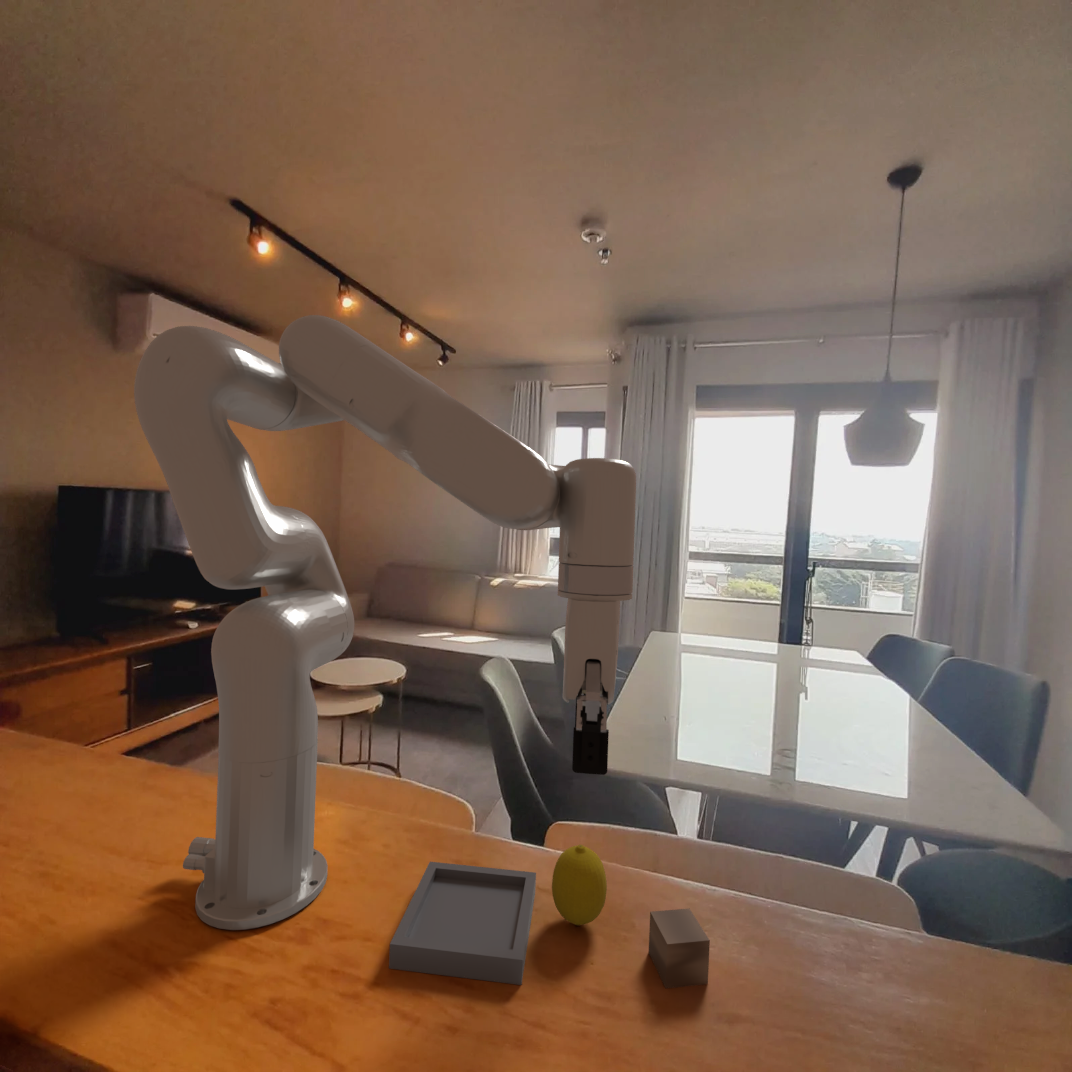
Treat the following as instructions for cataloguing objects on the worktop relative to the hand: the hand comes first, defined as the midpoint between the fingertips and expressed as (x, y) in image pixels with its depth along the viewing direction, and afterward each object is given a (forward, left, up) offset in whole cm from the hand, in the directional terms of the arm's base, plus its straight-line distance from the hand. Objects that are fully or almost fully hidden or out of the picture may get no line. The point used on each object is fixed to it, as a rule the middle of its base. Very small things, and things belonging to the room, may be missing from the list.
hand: (589, 750), depth 53 cm
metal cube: (+9, -4, -18) cm, 20 cm away
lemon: (-1, 0, -18) cm, 18 cm away
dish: (-11, -2, -18) cm, 21 cm away
